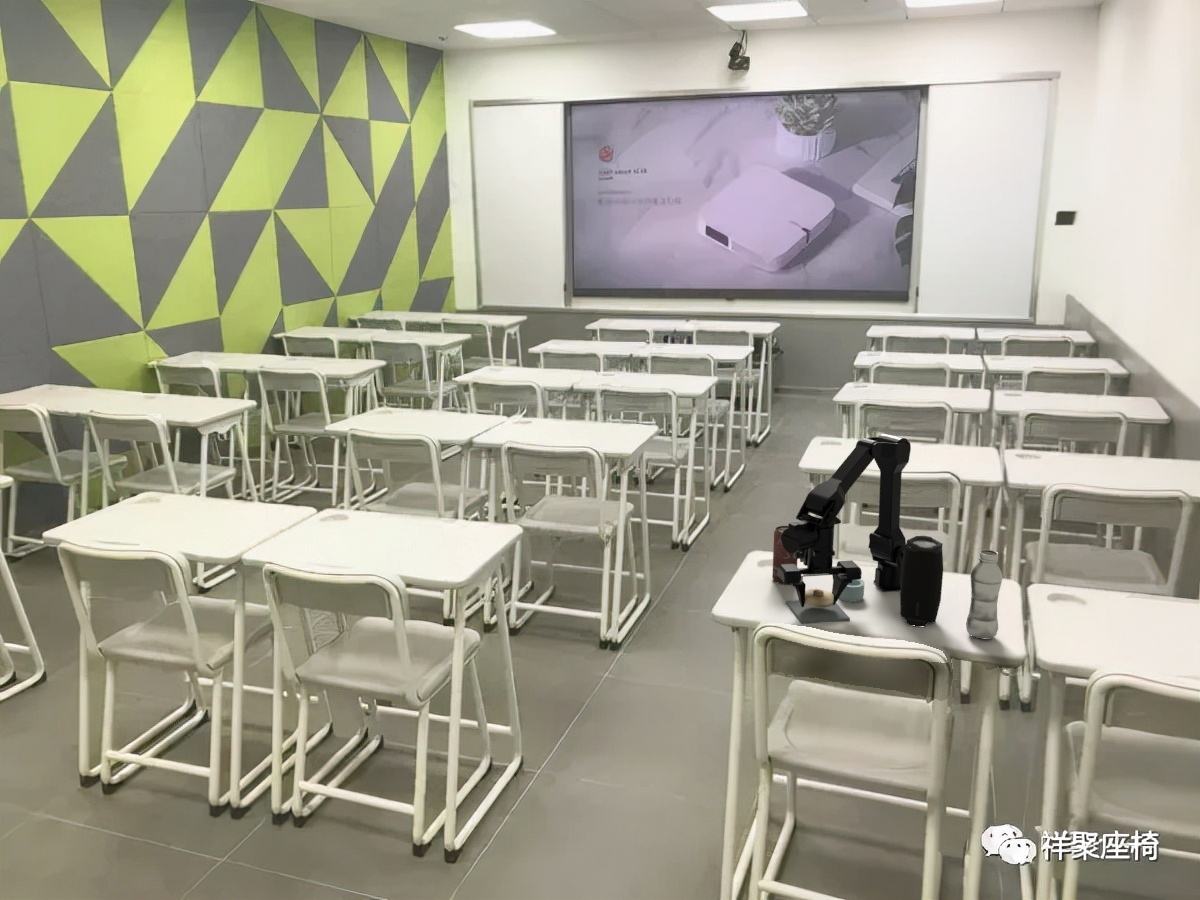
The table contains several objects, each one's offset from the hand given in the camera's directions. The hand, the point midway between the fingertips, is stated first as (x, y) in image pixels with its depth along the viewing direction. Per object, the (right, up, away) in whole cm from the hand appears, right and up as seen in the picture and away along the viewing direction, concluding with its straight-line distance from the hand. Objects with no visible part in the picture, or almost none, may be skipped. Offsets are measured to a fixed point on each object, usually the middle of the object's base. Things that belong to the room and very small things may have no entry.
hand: (817, 605), depth 224 cm
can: (-4, +3, +19) cm, 20 cm away
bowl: (+10, +1, +8) cm, 13 cm away
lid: (0, +1, 0) cm, 1 cm away
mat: (0, -2, 0) cm, 2 cm away
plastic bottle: (+33, -5, -13) cm, 36 cm away
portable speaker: (+22, -3, -5) cm, 23 cm away
